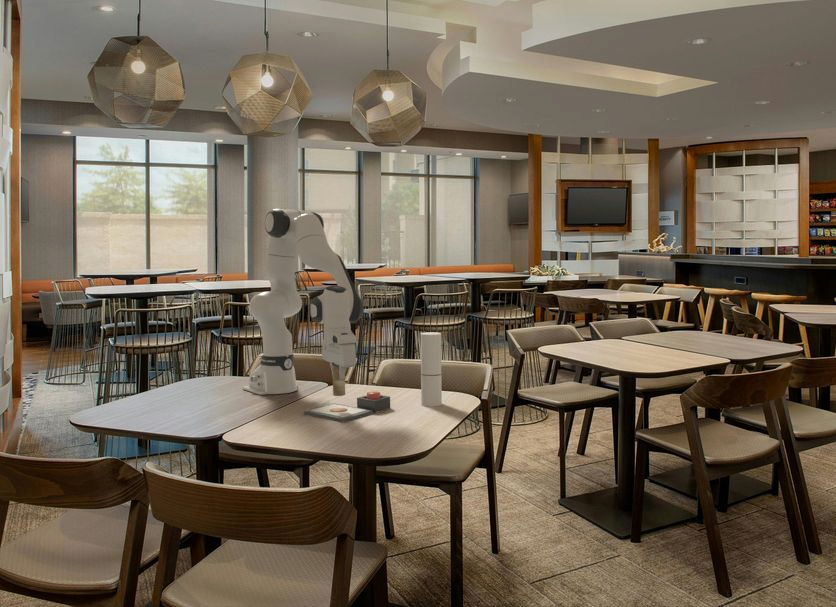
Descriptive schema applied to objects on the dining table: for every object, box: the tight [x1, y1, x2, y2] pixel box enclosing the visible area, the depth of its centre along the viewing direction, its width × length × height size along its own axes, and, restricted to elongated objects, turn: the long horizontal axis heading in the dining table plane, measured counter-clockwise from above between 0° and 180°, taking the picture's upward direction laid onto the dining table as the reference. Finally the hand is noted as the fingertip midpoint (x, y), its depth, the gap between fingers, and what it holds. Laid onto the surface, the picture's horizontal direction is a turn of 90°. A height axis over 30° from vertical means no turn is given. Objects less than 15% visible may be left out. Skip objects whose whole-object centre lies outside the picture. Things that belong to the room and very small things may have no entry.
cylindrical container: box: [420, 331, 443, 407], centre depth 232 cm, size 7×7×25 cm
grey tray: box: [303, 402, 374, 423], centre depth 221 cm, size 18×14×1 cm
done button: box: [366, 391, 381, 400], centre depth 227 cm, size 5×5×3 cm
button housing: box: [356, 394, 391, 414], centre depth 227 cm, size 8×8×4 cm
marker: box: [331, 362, 346, 397], centre depth 220 cm, size 4×4×11 cm
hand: (338, 377), depth 220 cm, fingers closed on marker, 4 cm apart
